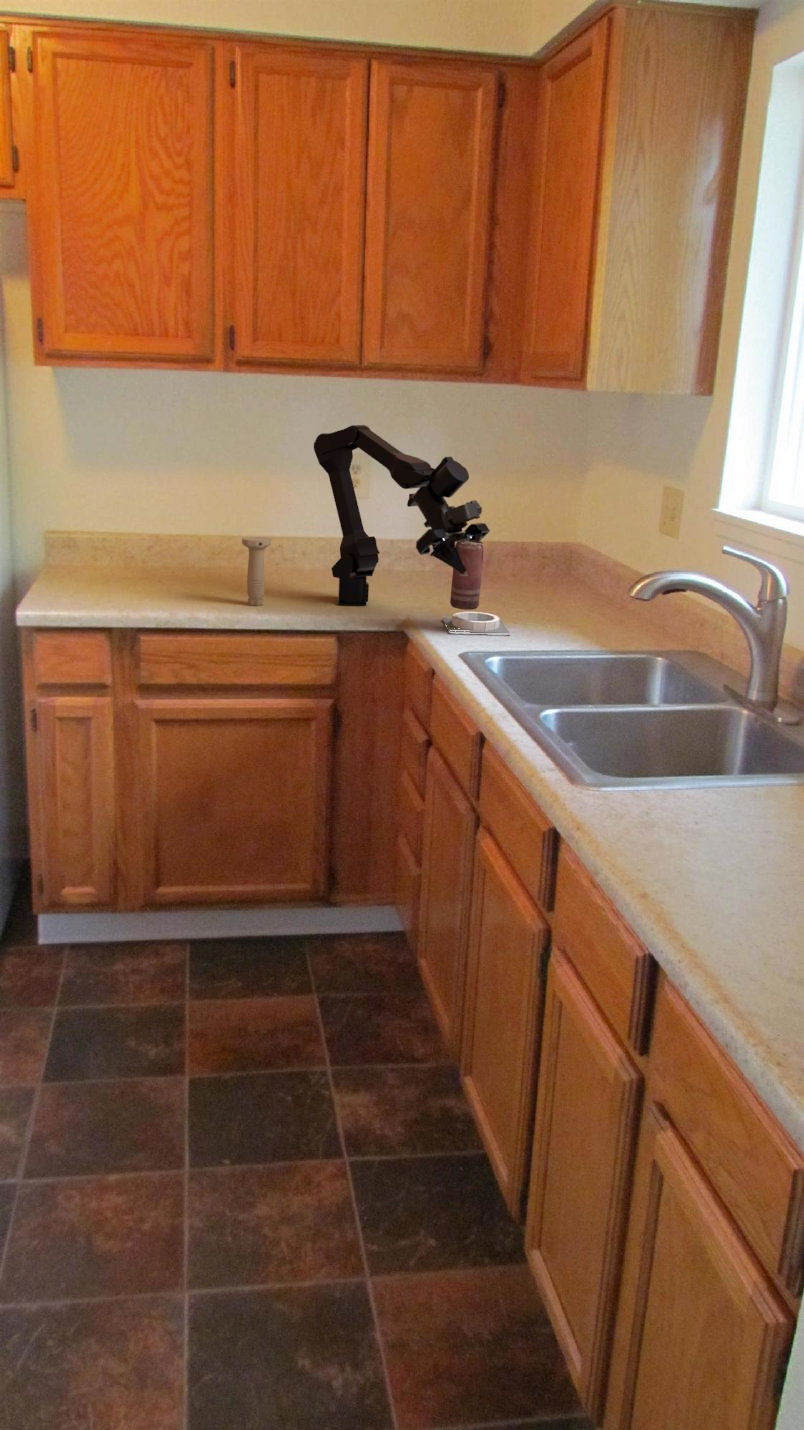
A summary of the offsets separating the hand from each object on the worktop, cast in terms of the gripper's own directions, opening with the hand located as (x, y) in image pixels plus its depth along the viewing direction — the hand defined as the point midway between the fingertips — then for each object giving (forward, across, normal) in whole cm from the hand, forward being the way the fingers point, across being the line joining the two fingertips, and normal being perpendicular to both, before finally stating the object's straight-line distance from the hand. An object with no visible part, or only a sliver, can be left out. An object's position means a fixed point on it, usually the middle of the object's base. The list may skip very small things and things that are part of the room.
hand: (472, 570), depth 255 cm
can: (+5, 0, +7) cm, 8 cm away
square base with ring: (+8, +4, +10) cm, 14 cm away
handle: (-23, -19, +42) cm, 52 cm away
